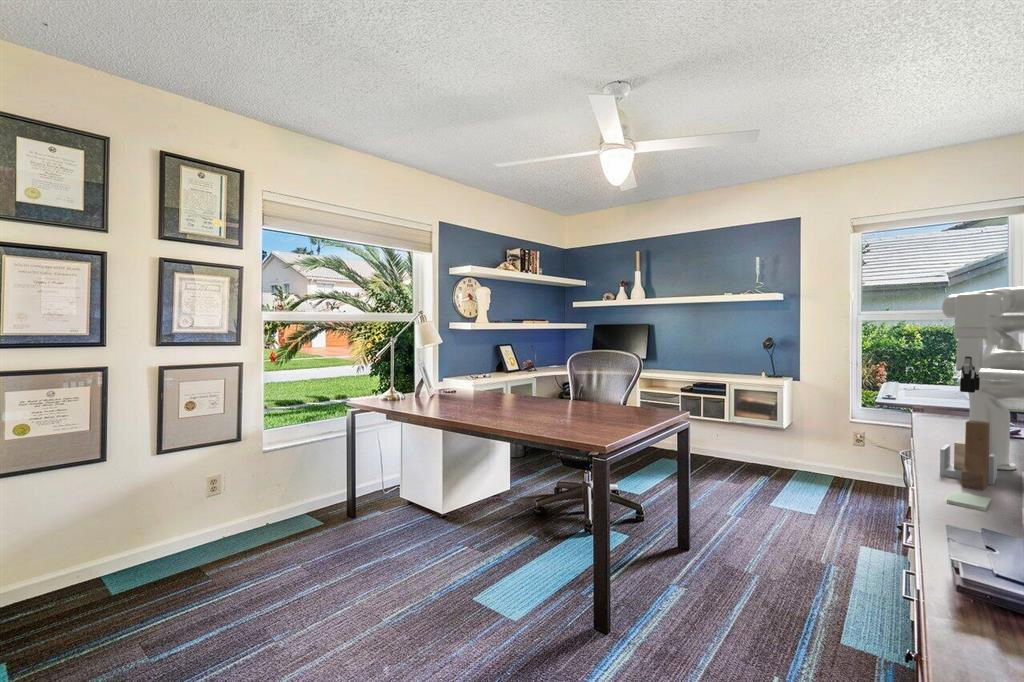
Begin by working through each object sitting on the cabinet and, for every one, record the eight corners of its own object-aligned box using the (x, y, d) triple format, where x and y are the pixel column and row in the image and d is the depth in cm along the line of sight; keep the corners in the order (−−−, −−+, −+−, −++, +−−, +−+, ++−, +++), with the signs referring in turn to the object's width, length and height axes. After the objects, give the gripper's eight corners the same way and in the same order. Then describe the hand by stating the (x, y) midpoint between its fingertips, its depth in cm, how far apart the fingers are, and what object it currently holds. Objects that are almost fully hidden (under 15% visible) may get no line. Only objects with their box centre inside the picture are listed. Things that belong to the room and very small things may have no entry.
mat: (953, 494, 130) (953, 491, 130) (990, 501, 125) (990, 498, 125) (946, 502, 124) (946, 499, 124) (985, 510, 119) (985, 507, 118)
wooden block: (982, 491, 133) (984, 426, 133) (960, 486, 137) (962, 423, 136) (988, 484, 139) (990, 422, 138) (967, 480, 142) (968, 419, 142)
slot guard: (945, 469, 154) (946, 444, 154) (996, 477, 145) (997, 451, 145) (939, 475, 148) (940, 449, 147) (993, 484, 139) (993, 456, 139)
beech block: (956, 466, 150) (956, 440, 150) (982, 470, 145) (983, 444, 145) (953, 468, 147) (954, 442, 147) (981, 473, 143) (981, 446, 143)
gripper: (958, 334, 154) (957, 387, 154) (949, 334, 143) (948, 391, 143) (991, 334, 148) (990, 390, 149) (985, 334, 137) (983, 394, 137)
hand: (969, 390), depth 146 cm, fingers open, 9 cm apart
